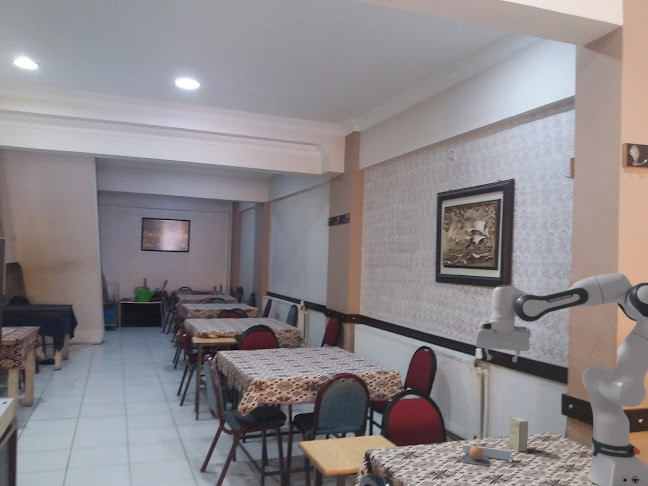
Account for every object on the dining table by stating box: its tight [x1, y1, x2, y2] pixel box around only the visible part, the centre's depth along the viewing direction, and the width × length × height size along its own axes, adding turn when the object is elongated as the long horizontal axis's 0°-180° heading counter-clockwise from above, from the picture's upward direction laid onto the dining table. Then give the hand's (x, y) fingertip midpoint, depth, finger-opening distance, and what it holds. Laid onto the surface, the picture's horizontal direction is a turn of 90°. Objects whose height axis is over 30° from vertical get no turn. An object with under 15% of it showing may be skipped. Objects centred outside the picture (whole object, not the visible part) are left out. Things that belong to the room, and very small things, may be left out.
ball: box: [469, 445, 483, 460], centre depth 196 cm, size 5×5×5 cm
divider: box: [462, 444, 513, 463], centre depth 200 cm, size 18×5×4 cm, turn 75°
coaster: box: [463, 454, 490, 467], centre depth 196 cm, size 9×9×1 cm
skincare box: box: [508, 416, 529, 452], centre depth 211 cm, size 6×4×12 cm
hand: (501, 360), depth 203 cm, fingers open, 8 cm apart
